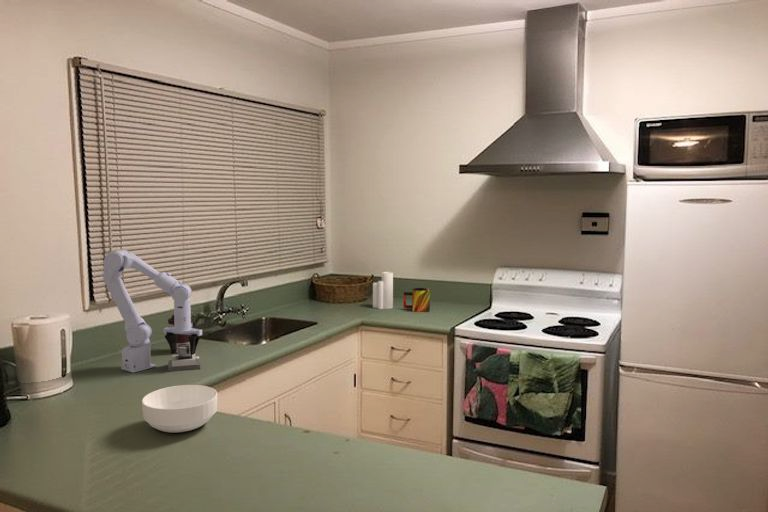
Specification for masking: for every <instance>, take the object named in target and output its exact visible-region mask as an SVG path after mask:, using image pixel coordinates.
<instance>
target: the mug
mask: <svg viewBox="0 0 768 512" xmlns="http://www.w3.org/2000/svg"><path fill="white" fill-rule="evenodd" d="M407 296H411V297H412V301H411V302H412V304H411V305H409V304H407ZM403 308H404V309H411V310H412V312H413V311H414V312H415V313H419V312H425V313H429V312H430V310H431V309H430V308H431V289H430V288H429V287H427V288H425V287H416V288H415V287H414V288H412V291H411V292H410V291H409V292H408V291H404V292H403Z"/></svg>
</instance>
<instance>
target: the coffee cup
mask: <svg viewBox="0 0 768 512" xmlns="http://www.w3.org/2000/svg"><path fill="white" fill-rule="evenodd" d="M167 322H168V325H169V328H173V327H175V324H174V314H172V315H171V317H170V318H168V319H167ZM194 322H195V318H194V317H193V316H191V328H194V326H193V323H194ZM189 336H191V335H186V334H178V336H177V351H176V354H178V345H179V344H190V343H189V339H188V337H189Z"/></svg>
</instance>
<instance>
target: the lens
mask: <svg viewBox="0 0 768 512" xmlns="http://www.w3.org/2000/svg"><path fill="white" fill-rule="evenodd" d="M177 355H178V360H182V359H191V354H190V344H179V345H178V353H177Z"/></svg>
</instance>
